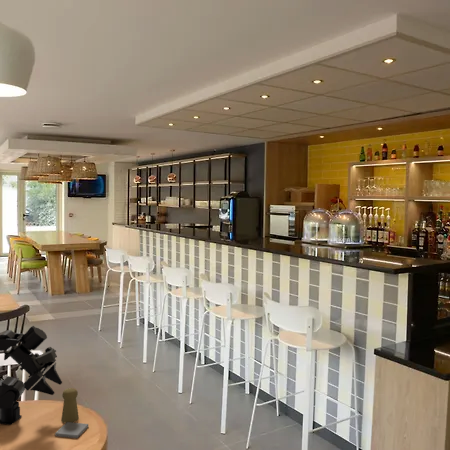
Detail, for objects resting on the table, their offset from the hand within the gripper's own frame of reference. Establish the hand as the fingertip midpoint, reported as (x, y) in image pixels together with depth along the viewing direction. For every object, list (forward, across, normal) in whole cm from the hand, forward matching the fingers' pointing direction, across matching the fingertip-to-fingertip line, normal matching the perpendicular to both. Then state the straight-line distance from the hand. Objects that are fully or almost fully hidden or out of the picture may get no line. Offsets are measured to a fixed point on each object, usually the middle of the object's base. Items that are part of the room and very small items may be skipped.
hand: (57, 388), depth 164 cm
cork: (+11, 0, +5) cm, 12 cm away
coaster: (+13, -9, +3) cm, 16 cm away
